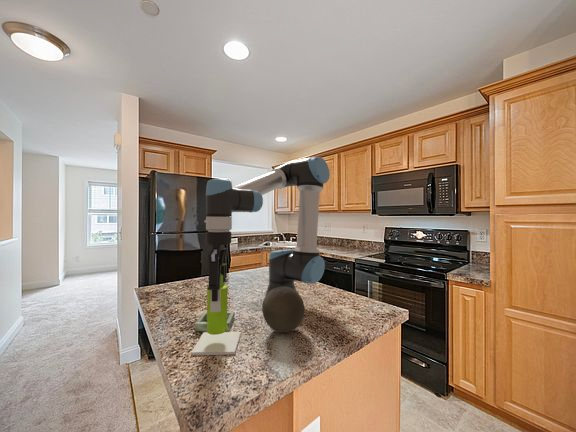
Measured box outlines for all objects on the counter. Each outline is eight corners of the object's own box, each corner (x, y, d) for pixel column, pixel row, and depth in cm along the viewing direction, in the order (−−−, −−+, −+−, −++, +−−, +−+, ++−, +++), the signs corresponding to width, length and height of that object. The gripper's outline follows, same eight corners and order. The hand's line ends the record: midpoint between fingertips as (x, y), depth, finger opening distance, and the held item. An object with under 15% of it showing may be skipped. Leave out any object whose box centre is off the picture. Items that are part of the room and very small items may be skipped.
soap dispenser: (232, 326, 79) (232, 262, 79) (219, 336, 72) (220, 266, 72) (216, 323, 80) (217, 261, 81) (202, 333, 74) (203, 265, 74)
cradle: (234, 318, 95) (234, 311, 95) (229, 330, 85) (229, 323, 85) (203, 318, 95) (203, 311, 95) (194, 331, 84) (194, 323, 84)
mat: (240, 334, 82) (240, 331, 82) (234, 354, 70) (234, 351, 70) (203, 334, 82) (203, 332, 82) (191, 355, 70) (191, 352, 70)
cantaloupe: (264, 322, 91) (265, 281, 91) (303, 323, 91) (304, 282, 91) (259, 342, 77) (259, 293, 77) (305, 343, 77) (305, 294, 77)
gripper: (214, 229, 85) (213, 297, 85) (196, 232, 66) (195, 320, 66) (236, 229, 86) (235, 297, 85) (224, 233, 67) (224, 320, 67)
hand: (218, 307), depth 76 cm, fingers closed on soap dispenser, 6 cm apart
